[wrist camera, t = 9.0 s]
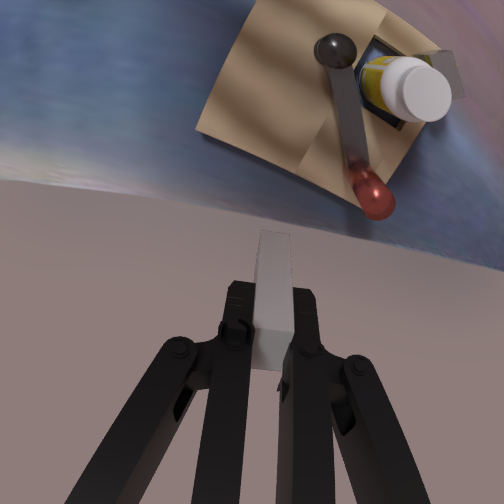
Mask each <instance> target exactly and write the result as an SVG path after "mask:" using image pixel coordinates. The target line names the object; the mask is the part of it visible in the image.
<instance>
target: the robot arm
mask: <svg viewBox="0 0 504 504" xmlns="http://www.w3.org/2000/svg"><path fill="white" fill-rule="evenodd" d="M282 366H283V368H282ZM251 368H252V369H262V370H271V371H281V369H283V370H282V372H283V373H282V377H281V380H280V383H279V385H278V388H277V391H280V404H279V405H280V406H279V437H278V464H277V485H276V504H335V471H334V448H333V431H332V427H333V430H334V433H335V436H336V439H337V442H338V445H339V448H340V451H341V455H342V458H343V461H344V464H345V467H346V470H347V473H348V476H349V479H350V482H351V486H352V489H353V492H354V495H355V498H356V502H357V504H431V503H430V500H429V498H428V495H427V492H426V489H425V487H424V484H423V481H422V479H421V476H420V473H419V471H418V468H417V466H416V463H415V461H414V458H413V455H412V453H411V451H410V448H409V446H408V443H407V441H406V439H405V436H404V433H403V431H402V429H401V427H400V424H399V422H398V419H397V417H396V415H395V412H394V410H393V408H392V405H391V403H390V401H389V399H388V396H387V394H386V392H385V390H384V388H383V385H382V383H381V381H380V379H379V377H378V374H377V372H376V370H375V368H374V366H373V364H372V363H371V361H370V360H369V359H367V358H366V357H364V356H361V355H352V356H349V357H348V358H347V359H343V358H341V357H338V356H335V355H333V354H331V353H329V352H328V351H326V349H325V348H324V346H323V345H322V344H321V341H320V334H319V325H318V317H317V309H316V299H315V296H314V295H313V293H312V291H311V290H310V289H304V288H294V287H293V286H292V268H291V250H290V235H289V234H285V233H279V232H271V231H264V230H261V234H260V241H259V247H258V253H257V260H256V267H255V274H254V283H250V282H243V281H233V282H232V284H231V285H230V286H229V287H228V292H227V298H226V303H225V309H224V314H223V319H222V321H221V322H220V325H219V327H218V335H217V336H216V337H215V338H214V339H212V340H209V341H206V342H200V343H194V342H193V341H192V340H190V339H188V338H186V337H182V336H179V337H173V338H171V339H168V340H167V341H166V342H165V343H164V344H163V346H162V348H161V349H160V351H159V352H158V354H157V355H156V357H155V358H154V360H153V361H152V363H151V364H150V366H149V368H148V369H147V371H146V373H145V374H144V375H143V377H142V378H141V380H140V382H139V383H138V385H137V386H136V388H135V390H134V391H133V393H132V394H131V396H130V397H129V399H128V400H127V402H126V404H125V405H124V407H123V408H122V410H121V411H120V413H119V415H118V416H117V418H116V419H115V421H114V423H113V424H112V426H111V428H110V429H109V431H108V432H107V434H106V436H105V437H104V439H103V440H102V442H101V444H100V445H99V447H98V448H97V450H96V452H95V453H94V455H93V457H92V458H91V460H90V462H89V463H88V465H87V466H86V468H85V470H84V471H83V473H82V475H81V477H80V478H79V480H78V481H77V483H76V485H75V487H74V488H73V490H72V491H71V493H70V495H69V497H68V498H67V500H66V502H65V503H64V504H139V502H140V500H141V498H142V496H143V494H144V492H145V490H146V489H147V487H148V485H149V483H150V481H151V479H152V477H153V475H154V474H155V471H156V470H157V468H158V466H159V464H160V462H161V460H162V458H163V456H164V454H165V452H166V450H167V449H168V447H169V445H170V443H171V441H172V439H173V437H174V435H175V433H176V431H177V429H178V427H179V425H180V423H181V421H182V419H183V417H184V416H185V414H186V412H187V410H188V408H189V406H190V404H191V402H192V400H193V398H194V396H195V394H196V392H197V390H202V389H209V393H208V399H207V405H206V411H205V418H204V424H203V430H202V436H201V442H200V449H199V455H198V461H197V468H196V474H195V480H194V487H193V494H192V500H191V504H239V498H240V487H241V476H242V465H243V452H244V442H245V431H246V419H247V407H248V394H249V383H250V370H251Z"/></svg>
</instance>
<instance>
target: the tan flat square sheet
mask: <svg viewBox="0 0 504 504" xmlns="http://www.w3.org/2000/svg"><path fill="white" fill-rule="evenodd" d="M331 33H341V34H344V35H346V36H348V37H349V38H350V39H352V41H353V42H354V43H355V45H356V48H357V58H356V60H355V62H354V63H353V64H352V66H353V70H354V69H355V67H356V65H357V63H358V62H359V60H360V58H361V56H362V55H363V53H364V51H365V49H366V48H367V46H368V44H369V43H370V41H371V39H372V37H374V38H375V39H377V40H378V41H380V42H382V43H383V44H385V45H386V46H388V47H389V48H390V49H392V50H393V51H395V52H396V53H398V54H399V55H400V56H404V57H405V56H406V57H413V54H416V53H420V52H425V51H430V50H441V49H440V48H439V47H438V46H436V45H435V44H434V43H433V42H431V41H430V40H429V39H428V38H426V37H425V36H424V35H423V34H421V33H420V32H419V31H417V30H416V29H415V28H413V27H412V26H411V25H409V24H408V23H407V22H405V21H404V20H402V19H401V18H399V17H398V16H397V15H395V14H394V13H392V12H391V11H389V10H388V9H386V8H385V7H383V6H381V5H380V4H378V3H377V2H375V1H373V0H257V1H256V3H255V4H254V6H253V8H252V10H251V12H250V14H249V15H248V17H247V19H246V21H245V23H244V25H243V27H242V29H241V31H240V33H239V35H238V36H237V38H236V40H235V42H234V44H233V46H232V48H231V50H230V52H229V55H228V57H227V59H226V61H225V63H224V65H223V67H222V69H221V71H220V73H219V76H218V78H217V80H216V82H215V84H214V87H213V89H212V91H211V93H210V96H209V98H208V100H207V102H206V105H205V107H204V109H203V112H202V114H201V117H200V119H199V121H198V124H197V126H196V129H195V130H197V131H199V132H202V133H204V134H207V135H209V136H212V137H214V138H217V139H219V140H221V141H224V142H226V143H228V144H231V145H233V146H235V147H238V148H240V149H242V150H244V151H247V152H249V153H251V154H253V155H256V156H258V157H260V158H262V159H264V160H267V161H269V162H271V163H273V164H275V165H277V166H279V167H282V168H284V169H286V170H288V171H290V172H292V173H294V174H296V175H298V176H300V177H302V178H304V179H306V180H308V181H310V182H312V183H314V184H316V185H318V186H320V187H322V188H324V189H326V190H328V191H330V192H332V193H333V194H335V195H337V196H339V197H341V198H343V199H345V200H347V201H348V202H350V203H352V204H354V205H356V206H358V207H359V208H361V209H362V207H361V205H360V203H359V202H358V200H357V198H356V196H355V194H354V192H353V190H352V188H351V186H350V184H349V183H348V181H347V179H346V177H345V175H344V173H343V164H344V159H343V153H342V147H341V142H340V136H339V131H338V126H337V121H336V116H335V111H334V106H333V102H332V97H331V93H330V88H329V84H328V80H327V76H326V71H325V67H324V64H323V62H322V61H321V60H320V58H319V56H318V53H317V46H318V43H319V41H320V40H321V39H322V38H323V37H324V36H326V35H328V34H331ZM456 64H457V63H456ZM458 66H459V65H458V64H457V67H458ZM361 110H362V115H363V121H364V127H365V133H366V140H367V147H368V154H369V162H370V166H371V167H372V168H373V169H374V171H375V172H376V173H377V175H378V176H379V177H380V178H381V180H382V181H383V182H384V184H385V185H386V183H387V182H388V180H389V179H390V177H391V176H392V174H393V173H394V171H395V170H396V168H397V167H398V165H399V164H400V162H401V161H402V159H403V158H404V156H405V154H406V153H407V151H408V150H409V148H410V147H411V145H412V144H413V142H414V140H415V139H416V137H417V136H418V134H419V132H420V131H421V129H422V128H423V126H424V124H425V123H426V121H423V122H408V121H405V120H402V119H401V120H400V122H399V123H398V125H397V126H396V128H394V127H392V126H391V125H389V124H388V123H386V122H385V121H383V120H382V119H380V118H379V117H377V116H376V115H374V114H373V113H371V112H370V111H368V110H367V109H365V108H363V107H362V106H361Z"/></svg>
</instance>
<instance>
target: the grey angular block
mask: <svg viewBox="0 0 504 504" xmlns="http://www.w3.org/2000/svg"><path fill="white" fill-rule="evenodd" d="M413 57H414V58H418V59H420V60H422V61H424V62H426V63H427V64H428V65H430V66H431V67H432V68H434V69H436V70H437V71H439V72H440V73H441V74H442V75H443V76H444V77H445V78H446V80H447V81H448V83H449V86H450V89H451V94H452V100H454V99H458V98H462V97H465V95H464V90H463V86H462V82H461V79H460V75H459V71H458V68H457V64H456V61H455V58H454V54H453V51H450V50H430V51H425V52H420V53H416V54H413Z"/></svg>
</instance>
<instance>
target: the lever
mask: <svg viewBox="0 0 504 504" xmlns="http://www.w3.org/2000/svg"><path fill="white" fill-rule="evenodd" d="M317 53H318V56H319V58H320V60H321V61H322V62H323V64H324V67H325V71H326V76H327V80H328V84H329V88H330V93H331V97H332V102H333V106H334V111H335V116H336V121H337V126H338V131H339V136H340V142H341V147H342V153H343V159H344V164H343V173H344V175H345V177H346V179H347V181H348V183H349V184H350V186H351V188H352V190H353V192H354V194H355V196H356V198H357V200H358V202H359V203H360V205H361V207H362V209H363V211H364V213H365V215H366V216H367V217H368V218H369V219H371V220H375V221H379V220H383V219H386V218H387V217H389V216H390V215H391V214H392V212H393V211H394V209H395V204H396V202H395V198H394V196H393V194H392V193H391V191H390V190H389V189H388V188H387V186H386V185H385V184H384V182H383V181H382V180H381V178H380V177H379V176H378V175H377V173H376V172H375V171H374V169H373V168H372V167H371V166H370V162H369V154H368V147H367V140H366V133H365V127H364V121H363V115H362V110H361V104H360V99H359V94H358V89H357V84H356V79H355V75H354V70H353V66H352V64H353V63H354V62H355V60H356V58H357V48H356V45H355V43H354V42H353V41H352V39H350V38H349V37H348V36H346V35H344V34H341V33H331V34H328V35H326V36H324V37H323V38H322V39H321V40H320V41H319V43H318V46H317Z"/></svg>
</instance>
